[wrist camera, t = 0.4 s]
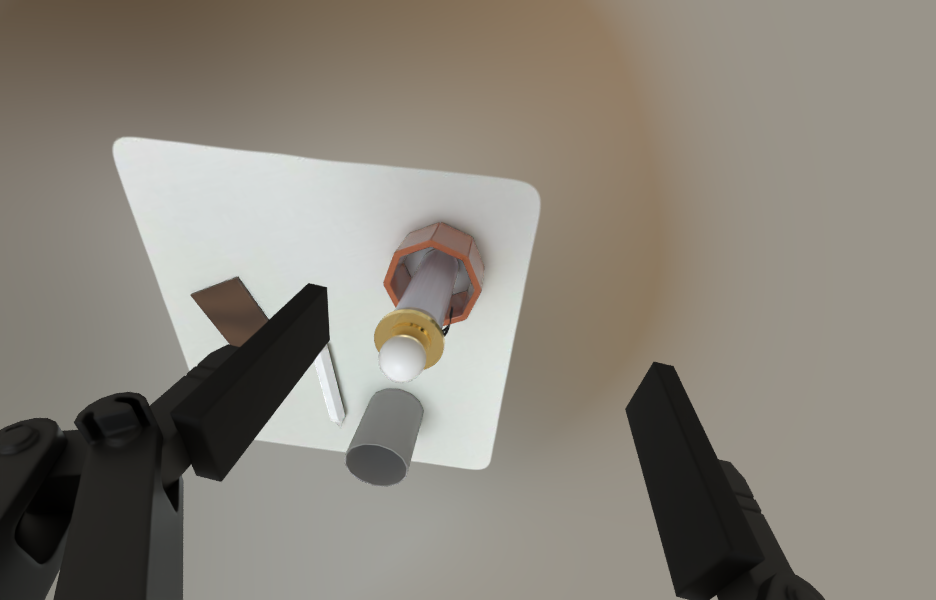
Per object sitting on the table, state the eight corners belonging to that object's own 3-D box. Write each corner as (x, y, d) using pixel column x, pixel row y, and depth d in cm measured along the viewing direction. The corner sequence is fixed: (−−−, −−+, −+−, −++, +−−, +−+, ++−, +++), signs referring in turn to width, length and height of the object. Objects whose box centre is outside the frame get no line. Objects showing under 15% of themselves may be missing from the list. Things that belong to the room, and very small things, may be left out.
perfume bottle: (408, 269, 44) (343, 378, 27) (433, 232, 42) (380, 326, 24) (447, 294, 46) (409, 415, 28) (474, 260, 43) (450, 369, 26)
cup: (371, 383, 54) (345, 437, 45) (426, 394, 54) (410, 451, 45) (368, 422, 58) (344, 479, 49) (419, 433, 58) (403, 491, 50)
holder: (387, 240, 43) (370, 260, 38) (464, 213, 41) (457, 230, 35) (420, 309, 47) (410, 335, 42) (492, 288, 45) (490, 313, 39)
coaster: (192, 293, 49) (189, 294, 49) (237, 276, 47) (235, 277, 47) (237, 350, 54) (236, 352, 53) (281, 337, 52) (280, 339, 51)
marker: (344, 420, 60) (322, 340, 52) (352, 426, 59) (331, 345, 51) (330, 431, 58) (305, 350, 50) (339, 437, 57) (314, 355, 49)
